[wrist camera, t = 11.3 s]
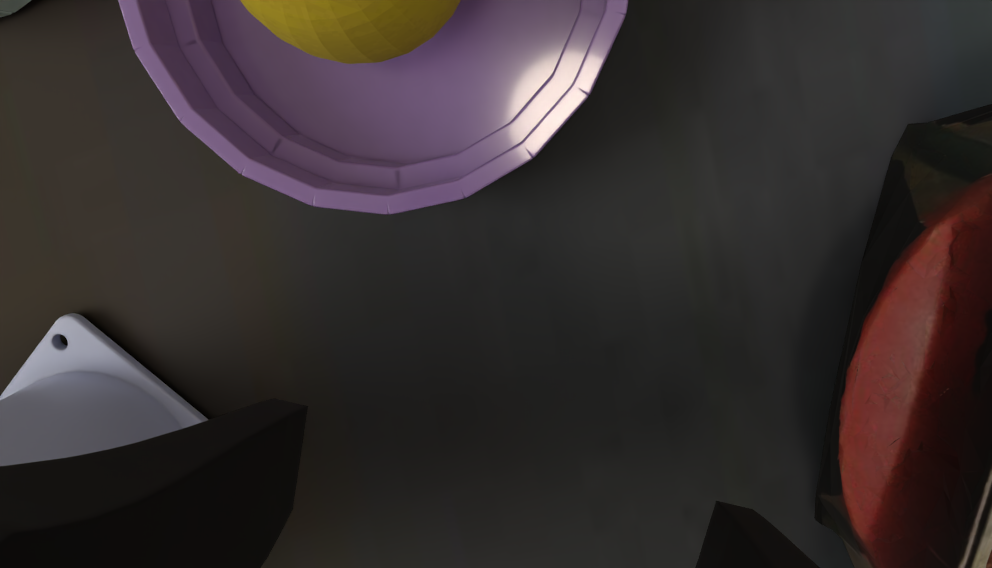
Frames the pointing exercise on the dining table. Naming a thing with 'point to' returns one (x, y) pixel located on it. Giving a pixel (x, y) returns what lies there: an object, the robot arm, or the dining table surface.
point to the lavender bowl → (377, 97)
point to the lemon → (353, 25)
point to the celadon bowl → (11, 6)
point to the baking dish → (919, 363)
